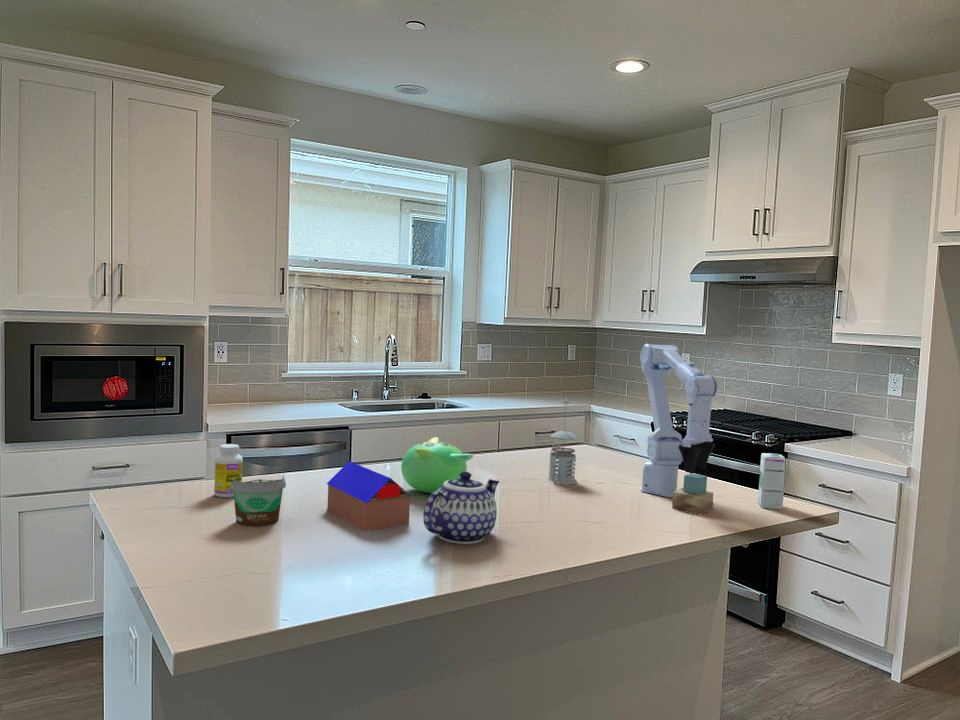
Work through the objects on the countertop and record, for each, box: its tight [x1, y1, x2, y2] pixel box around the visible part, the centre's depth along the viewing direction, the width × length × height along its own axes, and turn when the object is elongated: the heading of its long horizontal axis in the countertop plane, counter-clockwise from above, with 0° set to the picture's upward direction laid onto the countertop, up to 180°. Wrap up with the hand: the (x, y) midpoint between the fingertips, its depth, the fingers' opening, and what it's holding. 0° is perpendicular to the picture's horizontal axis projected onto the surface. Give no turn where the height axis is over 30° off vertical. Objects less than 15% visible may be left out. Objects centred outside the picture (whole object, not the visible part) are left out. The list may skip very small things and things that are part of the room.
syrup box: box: [757, 452, 786, 511], centre depth 201 cm, size 6×6×14 cm
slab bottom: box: [671, 501, 714, 516], centre depth 195 cm, size 8×8×2 cm
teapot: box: [423, 471, 500, 545], centre depth 161 cm, size 25×15×15 cm, turn 139°
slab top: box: [671, 487, 714, 507], centre depth 195 cm, size 8×8×2 cm
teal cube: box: [682, 473, 708, 495], centre depth 195 cm, size 4×4×4 cm
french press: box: [546, 399, 578, 485], centre depth 219 cm, size 10×12×25 cm
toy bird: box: [400, 436, 474, 494], centre depth 199 cm, size 18×17×15 cm
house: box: [326, 461, 413, 532], centre depth 173 cm, size 12×20×12 cm, turn 38°
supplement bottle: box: [213, 443, 244, 499], centre depth 186 cm, size 7×7×13 cm
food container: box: [230, 475, 287, 528], centre depth 163 cm, size 12×6×10 cm, turn 118°
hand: (695, 470), depth 195 cm, fingers open, 7 cm apart
